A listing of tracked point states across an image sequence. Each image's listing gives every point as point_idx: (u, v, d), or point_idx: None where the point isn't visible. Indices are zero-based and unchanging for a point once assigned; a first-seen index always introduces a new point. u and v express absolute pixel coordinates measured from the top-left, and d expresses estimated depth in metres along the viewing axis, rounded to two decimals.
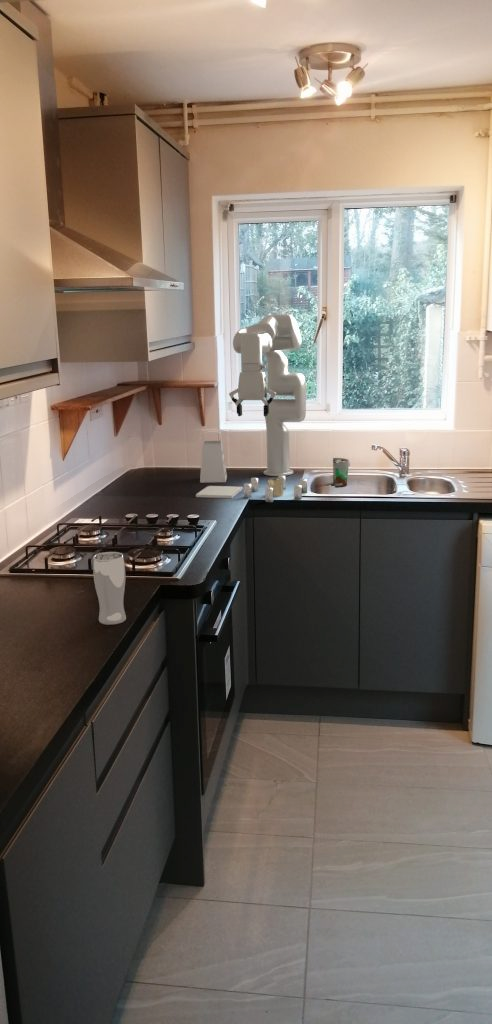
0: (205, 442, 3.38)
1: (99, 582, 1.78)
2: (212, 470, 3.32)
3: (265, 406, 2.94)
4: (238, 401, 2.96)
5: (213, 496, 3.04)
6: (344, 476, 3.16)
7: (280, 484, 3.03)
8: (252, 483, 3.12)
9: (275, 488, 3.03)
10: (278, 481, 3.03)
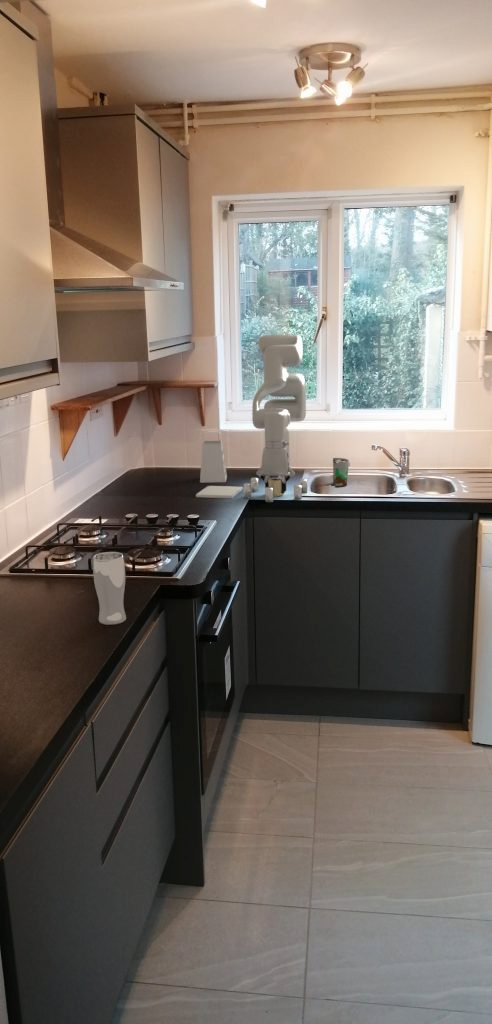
0: (205, 442, 3.38)
1: (99, 582, 1.78)
2: (212, 470, 3.32)
3: (283, 484, 3.03)
4: (267, 479, 3.04)
5: (213, 496, 3.04)
6: (344, 476, 3.16)
7: (280, 484, 3.03)
8: (252, 483, 3.12)
9: (275, 487, 3.03)
10: (278, 481, 3.03)
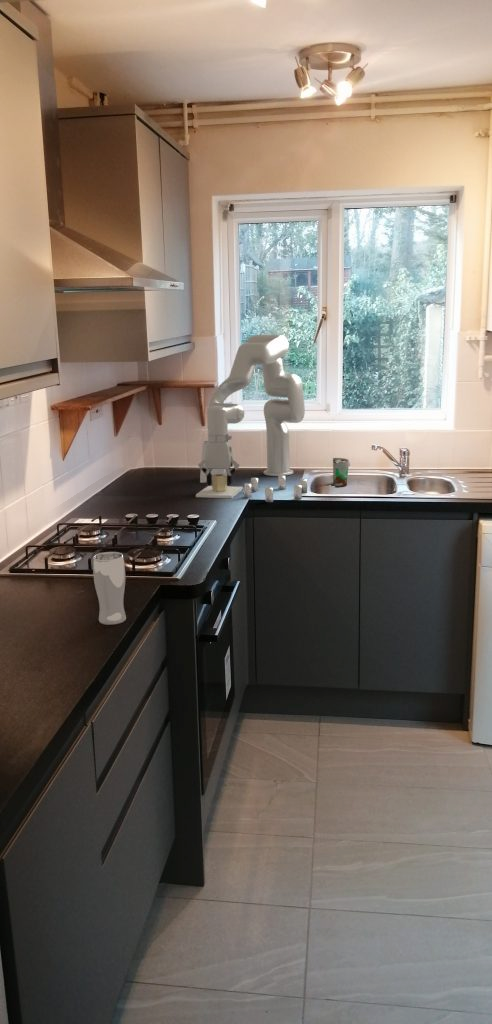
0: (205, 442, 3.38)
1: (99, 582, 1.78)
2: (212, 470, 3.32)
3: (228, 476, 3.08)
4: (208, 471, 3.09)
5: (213, 496, 3.04)
6: (344, 476, 3.16)
7: (223, 480, 3.08)
8: (252, 483, 3.12)
9: (218, 483, 3.08)
10: (221, 477, 3.08)
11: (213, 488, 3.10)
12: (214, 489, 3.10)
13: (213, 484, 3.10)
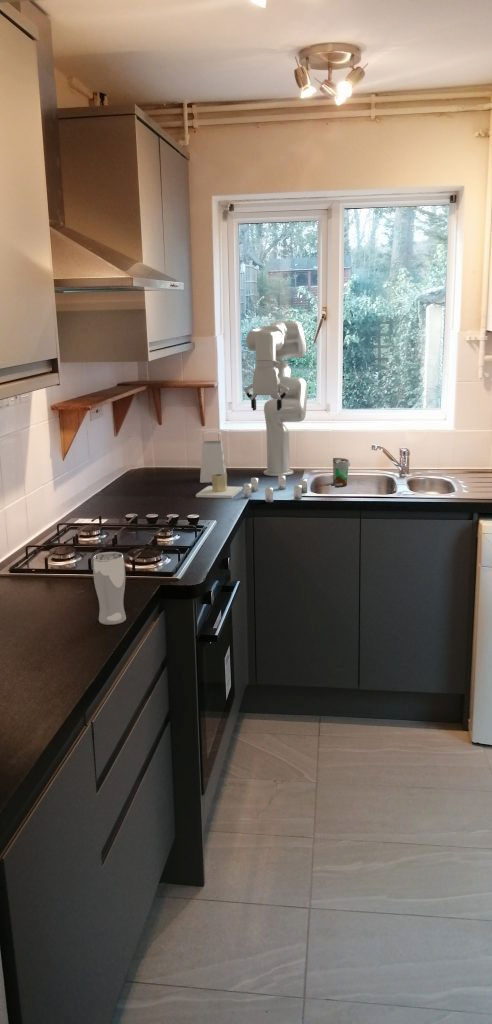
0: (205, 442, 3.38)
1: (99, 582, 1.78)
2: (212, 470, 3.32)
3: (278, 401, 3.09)
4: (253, 396, 3.11)
5: (213, 496, 3.04)
6: (344, 476, 3.16)
7: (223, 480, 3.08)
8: (252, 483, 3.12)
9: (218, 483, 3.08)
10: (221, 477, 3.08)
11: (213, 488, 3.10)
12: (214, 489, 3.10)
13: (213, 484, 3.10)
